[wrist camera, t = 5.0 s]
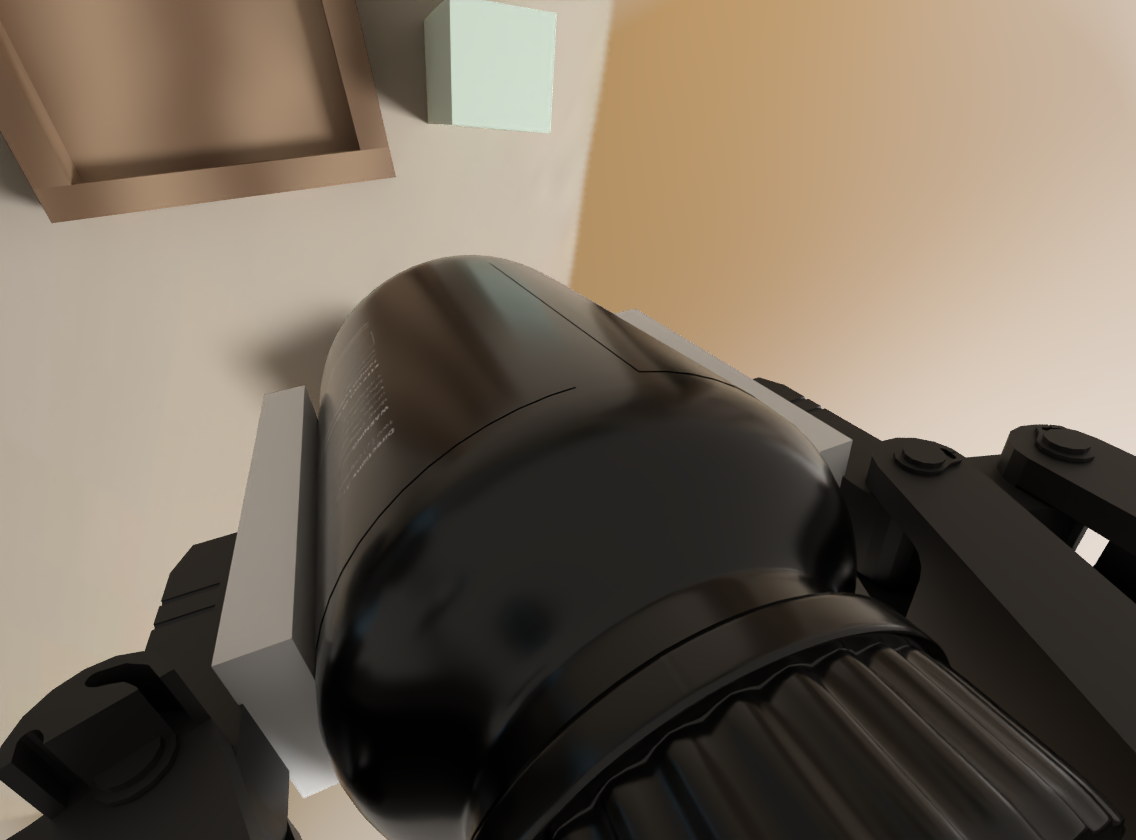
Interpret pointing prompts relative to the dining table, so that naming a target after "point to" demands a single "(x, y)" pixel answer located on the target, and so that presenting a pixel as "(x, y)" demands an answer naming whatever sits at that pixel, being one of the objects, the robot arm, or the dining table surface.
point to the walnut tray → (185, 101)
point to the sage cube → (489, 66)
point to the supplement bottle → (619, 600)
